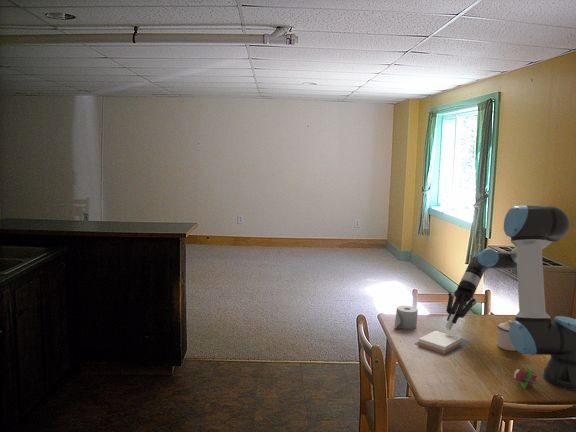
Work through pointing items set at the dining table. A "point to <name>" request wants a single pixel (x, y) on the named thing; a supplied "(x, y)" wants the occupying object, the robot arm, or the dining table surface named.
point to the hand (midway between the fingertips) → (448, 328)
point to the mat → (463, 344)
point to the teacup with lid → (504, 336)
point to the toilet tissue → (406, 317)
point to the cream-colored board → (439, 342)
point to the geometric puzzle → (525, 377)
